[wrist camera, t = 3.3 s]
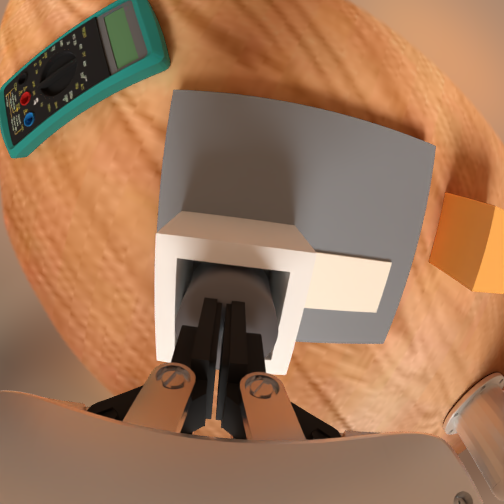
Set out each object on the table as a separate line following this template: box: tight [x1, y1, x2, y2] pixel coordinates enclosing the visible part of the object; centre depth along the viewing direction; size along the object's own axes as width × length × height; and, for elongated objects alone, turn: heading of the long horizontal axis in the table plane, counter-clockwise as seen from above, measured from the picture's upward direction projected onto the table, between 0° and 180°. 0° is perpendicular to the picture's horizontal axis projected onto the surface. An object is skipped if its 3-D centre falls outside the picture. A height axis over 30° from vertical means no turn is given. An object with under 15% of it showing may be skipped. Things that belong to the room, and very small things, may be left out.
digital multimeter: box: [0, 0, 170, 158], centre depth 14 cm, size 7×15×3 cm, turn 110°
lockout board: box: [155, 90, 436, 375], centre depth 16 cm, size 18×16×7 cm
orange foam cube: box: [429, 192, 504, 294], centre depth 17 cm, size 6×6×6 cm
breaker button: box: [175, 261, 278, 370], centre depth 14 cm, size 4×4×4 cm
